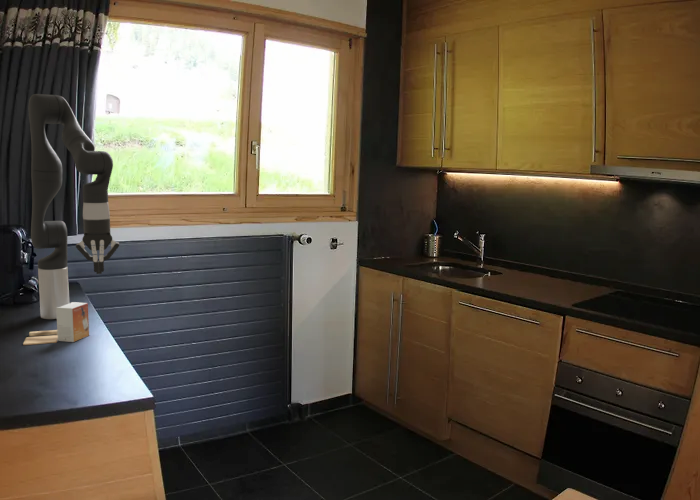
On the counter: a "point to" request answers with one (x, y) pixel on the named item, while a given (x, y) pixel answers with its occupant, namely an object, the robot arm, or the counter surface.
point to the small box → (72, 321)
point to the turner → (43, 333)
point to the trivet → (40, 340)
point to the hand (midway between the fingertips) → (99, 273)
